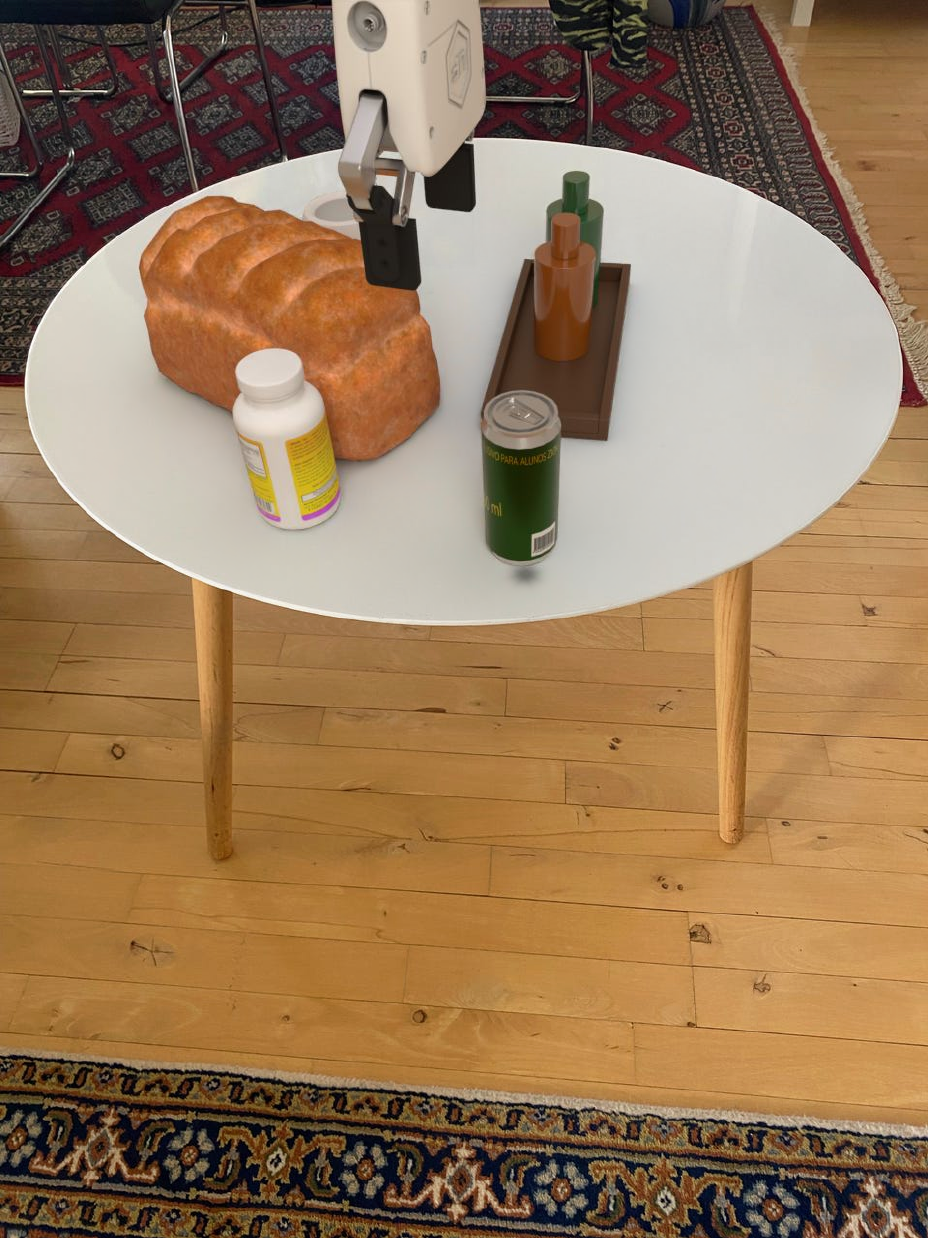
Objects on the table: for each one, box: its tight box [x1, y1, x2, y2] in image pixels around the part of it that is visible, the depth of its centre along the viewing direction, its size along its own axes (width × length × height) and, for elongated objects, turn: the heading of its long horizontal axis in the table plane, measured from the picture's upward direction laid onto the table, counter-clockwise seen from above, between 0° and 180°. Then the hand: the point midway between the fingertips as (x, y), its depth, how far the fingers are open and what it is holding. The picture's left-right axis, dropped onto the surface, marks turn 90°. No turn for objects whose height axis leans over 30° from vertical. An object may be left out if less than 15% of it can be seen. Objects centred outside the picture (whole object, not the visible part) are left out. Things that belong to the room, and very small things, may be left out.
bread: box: [138, 195, 441, 462], centre depth 83 cm, size 14×26×16 cm, turn 52°
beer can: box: [480, 390, 562, 567], centre depth 70 cm, size 5×5×12 cm
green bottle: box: [545, 170, 605, 309], centre depth 92 cm, size 5×5×12 cm
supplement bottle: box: [232, 348, 342, 531], centre depth 74 cm, size 7×7×13 cm
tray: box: [480, 258, 632, 441], centre depth 90 cm, size 11×26×2 cm, turn 170°
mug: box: [301, 190, 361, 240], centre depth 100 cm, size 12×8×8 cm
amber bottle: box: [533, 213, 595, 361], centre depth 86 cm, size 5×5×12 cm
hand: (424, 244), depth 59 cm, fingers open, 9 cm apart
